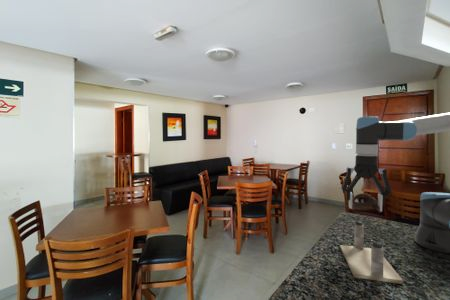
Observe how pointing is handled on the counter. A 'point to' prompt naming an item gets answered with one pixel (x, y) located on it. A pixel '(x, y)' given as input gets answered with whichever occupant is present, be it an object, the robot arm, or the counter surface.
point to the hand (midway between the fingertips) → (364, 209)
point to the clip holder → (368, 259)
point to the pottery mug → (365, 202)
